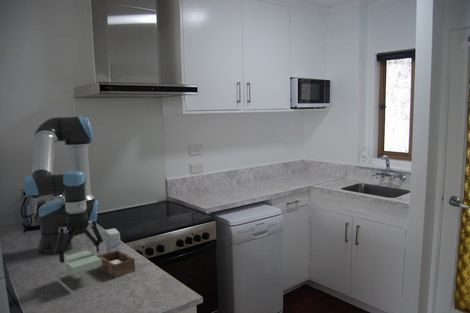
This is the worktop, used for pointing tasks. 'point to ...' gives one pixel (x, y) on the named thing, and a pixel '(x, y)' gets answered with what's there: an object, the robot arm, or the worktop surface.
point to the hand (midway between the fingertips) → (80, 265)
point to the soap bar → (116, 261)
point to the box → (120, 268)
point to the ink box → (112, 240)
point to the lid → (82, 262)
